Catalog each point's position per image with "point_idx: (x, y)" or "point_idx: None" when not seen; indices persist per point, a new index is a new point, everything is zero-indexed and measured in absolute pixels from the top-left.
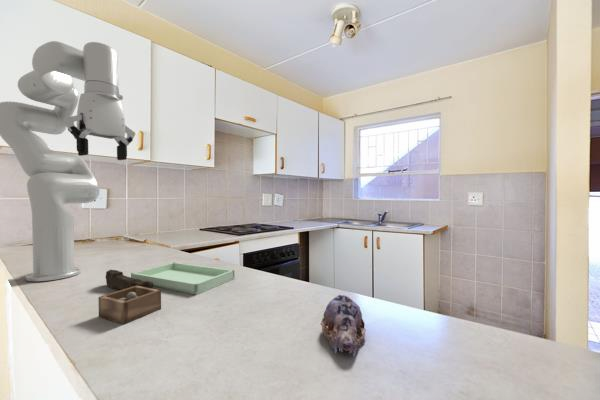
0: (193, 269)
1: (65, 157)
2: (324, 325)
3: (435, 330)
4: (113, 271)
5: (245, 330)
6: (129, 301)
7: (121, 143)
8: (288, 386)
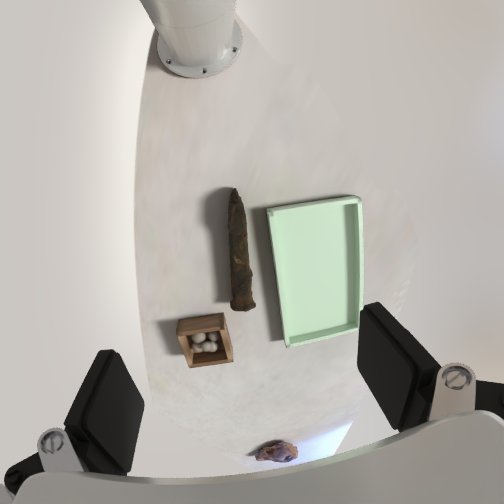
0: (356, 251)
1: None
2: (272, 447)
3: (310, 460)
4: (236, 217)
5: (249, 417)
6: (195, 366)
7: (416, 425)
8: (221, 449)
